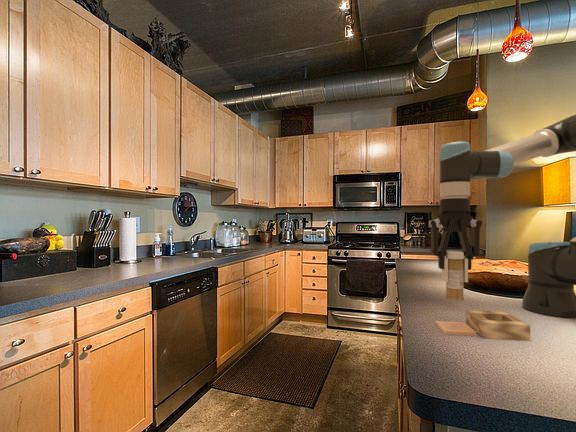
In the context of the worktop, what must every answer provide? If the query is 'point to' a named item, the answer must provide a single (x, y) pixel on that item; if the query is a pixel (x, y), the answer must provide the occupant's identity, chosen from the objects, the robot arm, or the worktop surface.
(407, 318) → the worktop surface
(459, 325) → the terracotta tile
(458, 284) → the sprinkles bottle
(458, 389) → the worktop surface
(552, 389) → the worktop surface
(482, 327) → the socket block
